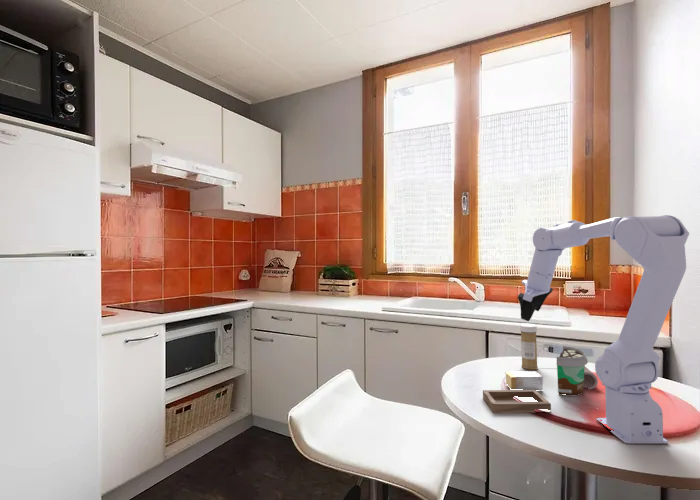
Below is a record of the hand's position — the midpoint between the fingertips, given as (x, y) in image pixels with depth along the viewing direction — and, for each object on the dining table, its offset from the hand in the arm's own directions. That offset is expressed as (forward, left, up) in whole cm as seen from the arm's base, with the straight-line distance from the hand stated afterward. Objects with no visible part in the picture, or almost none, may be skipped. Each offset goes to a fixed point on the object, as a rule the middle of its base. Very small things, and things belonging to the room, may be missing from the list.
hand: (530, 314), depth 103 cm
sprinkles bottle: (+11, -4, -19) cm, 22 cm away
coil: (+3, -14, -19) cm, 24 cm away
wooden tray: (-15, +10, -19) cm, 26 cm away
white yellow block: (-5, +4, -19) cm, 20 cm away
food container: (-7, -8, -19) cm, 22 cm away
